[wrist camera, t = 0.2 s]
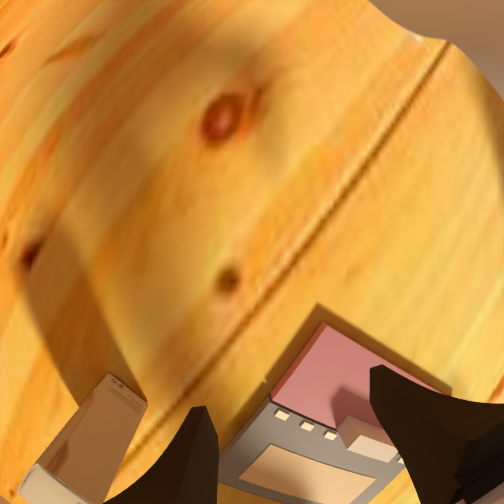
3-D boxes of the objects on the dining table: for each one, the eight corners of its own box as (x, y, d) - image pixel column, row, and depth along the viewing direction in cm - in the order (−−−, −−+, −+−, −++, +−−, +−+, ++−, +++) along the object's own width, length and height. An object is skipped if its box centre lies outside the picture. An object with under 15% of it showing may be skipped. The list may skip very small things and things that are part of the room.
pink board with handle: (410, 451, 24) (428, 473, 20) (270, 392, 23) (276, 421, 19) (452, 398, 24) (475, 416, 20) (322, 321, 23) (340, 339, 18)
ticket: (348, 510, 25) (351, 518, 23) (206, 467, 23) (205, 477, 22) (408, 452, 24) (413, 459, 23) (268, 394, 23) (269, 403, 22)
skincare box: (109, 370, 22) (35, 459, 10) (151, 403, 22) (104, 509, 10) (77, 411, 22) (13, 492, 10) (115, 440, 23) (67, 533, 10)
